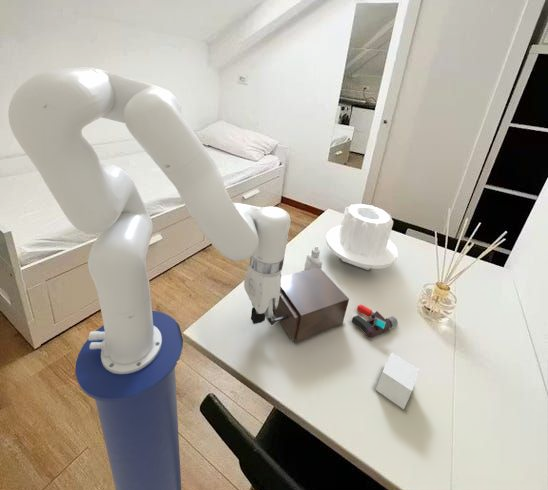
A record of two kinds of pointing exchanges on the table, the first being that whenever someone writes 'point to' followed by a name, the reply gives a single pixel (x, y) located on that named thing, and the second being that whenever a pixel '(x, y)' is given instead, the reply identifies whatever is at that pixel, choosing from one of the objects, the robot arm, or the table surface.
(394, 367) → the white cube
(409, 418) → the table surface
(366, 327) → the toy gun
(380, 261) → the flanged gear
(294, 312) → the drawer
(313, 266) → the eye dropper bottle
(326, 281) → the cabinet
